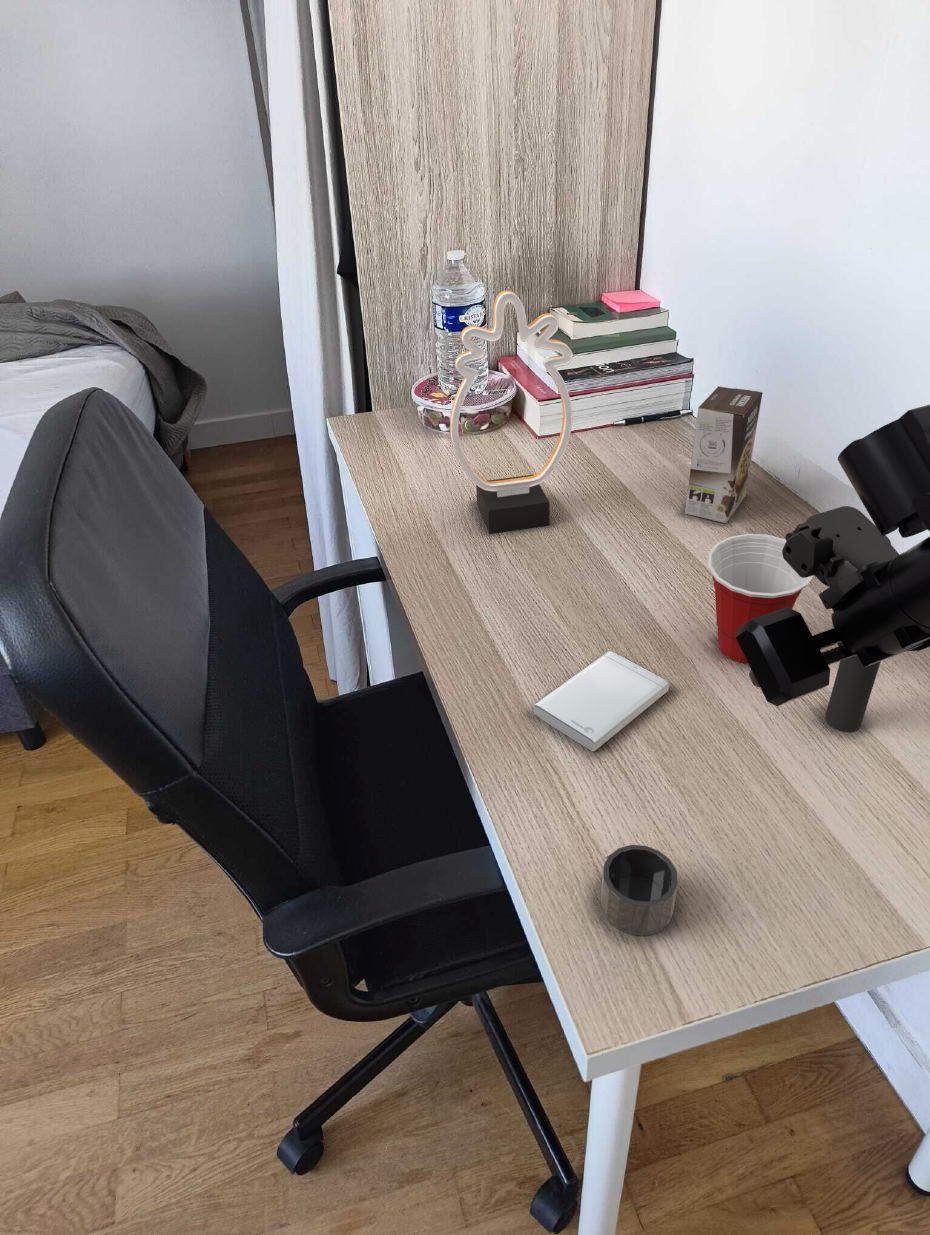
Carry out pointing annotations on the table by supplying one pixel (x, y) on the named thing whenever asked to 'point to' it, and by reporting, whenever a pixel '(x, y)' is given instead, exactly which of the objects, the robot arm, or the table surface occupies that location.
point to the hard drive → (601, 700)
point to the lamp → (523, 496)
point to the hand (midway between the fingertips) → (797, 662)
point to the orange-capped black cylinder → (850, 694)
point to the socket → (638, 890)
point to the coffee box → (722, 453)
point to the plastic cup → (750, 584)
